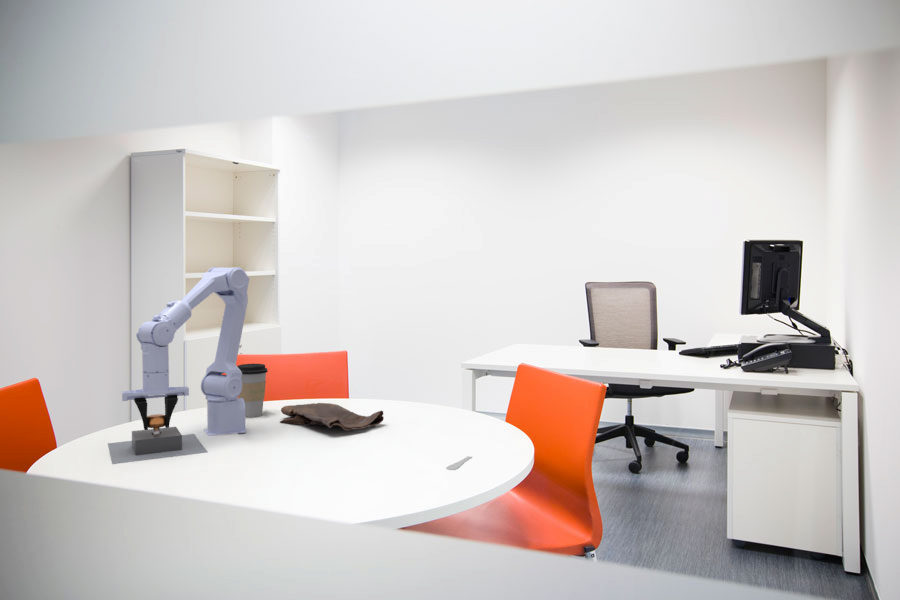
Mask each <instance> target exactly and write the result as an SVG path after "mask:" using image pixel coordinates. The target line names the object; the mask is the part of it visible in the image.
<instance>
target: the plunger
mask: <svg viewBox="0 0 900 600" xmlns="http://www.w3.org/2000/svg"><path fill="white" fill-rule="evenodd" d="M147 421H148V429H153V434H160V428H165V414H160V413H159V414H151V415H147Z"/></svg>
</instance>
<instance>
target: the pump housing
mask: <svg viewBox="0 0 900 600" xmlns="http://www.w3.org/2000/svg"><path fill="white" fill-rule="evenodd" d="M182 435H183V434H182V433H181V432H180V430H179V429H178V428H177V426H169V427H167V428H166V427H160V434H153V428H148V430H144V429H141V430H131V441H132V447H133V450H134V453H135V455H143V454H152V453H160V452H168V451H177V450H182Z"/></svg>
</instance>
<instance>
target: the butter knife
mask: <svg viewBox="0 0 900 600" xmlns="http://www.w3.org/2000/svg"><path fill="white" fill-rule="evenodd" d="M472 458H473V456H466V457H464V458H462V459H461V460H459V461H457V462H454V463H452V464H450V465H448V466H446V467H445V469H446V470H447V471H456V470H458V469H460V468H461V467H462V466H463V465H464V464H465V463H466V462H467V461H469V460H471V459H472Z"/></svg>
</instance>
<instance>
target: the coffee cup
mask: <svg viewBox="0 0 900 600" xmlns="http://www.w3.org/2000/svg"><path fill="white" fill-rule="evenodd" d="M237 367H238V368H239V369H240V370H241V372H242V377H241V381H242V391H241V393H240V395H239V396H238V398H243V399H244V402H245V418H257V417H261V416H262V415H263V408H264V401H265V394H266V393H265V392H266V384H267V383H266V382H267V380H266V379H267V373H268V368H267V367H266V364H264V363H245V364H244V363H242V364H239V365H237Z"/></svg>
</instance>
